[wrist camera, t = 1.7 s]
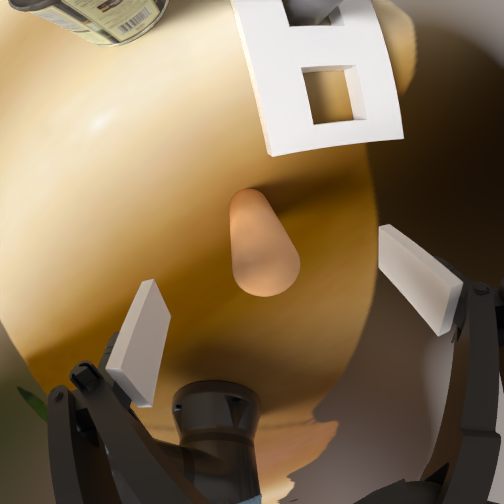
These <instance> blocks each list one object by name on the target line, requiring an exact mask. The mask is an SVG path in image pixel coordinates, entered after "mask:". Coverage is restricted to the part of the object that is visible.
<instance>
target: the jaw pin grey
mask: <svg viewBox="0 0 504 504" xmlns="http://www.w3.org/2000/svg"><path fill="white" fill-rule="evenodd" d="M342 1H343V0H288V2H287V4H286V6H285V8H284V10H285V13H286V16H287V19H288V21H289V22H290V23H291V24H293V25H294V26H317V25H318V24H319V23H320V22H321V21H322V20H323V19H324V18H326V17H327V16H328V15H329V14H330V13H331V12H332V11H333V10H334V9H335V8H336V7H337V6H338V5H339V4H340V3H341V2H342Z"/></svg>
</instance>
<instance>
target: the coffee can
mask: <svg viewBox="0 0 504 504" xmlns="http://www.w3.org/2000/svg"><path fill="white" fill-rule="evenodd" d="M8 1H9V4H10V6H11V7H12V8H14V9H16V10H19V11H24V12H29V13H31V14H34V15H36V16H38V17H41V18H43V19H45V20H48V21H50V22H52V23H54V24H56V25H58V26H60V27H63V28H64V29H66V30H69V31H71V32H73V33H75V34H76V35H78V36H80V37H82V38H84V39H86V40H88V41H89V42H90V43H92V44H94V45H96V46H99V47H114V46H119V45H123V44H126V43H128V42H130V41H133V40H135V39H136V38H138V37H140V36H141V35H143V34H144V33H146V32H147V31H148V30H149V29H151V28H152V27H153V26H154V25H155V24H156V23H157V22H158V20H159V19H160V18H161V17H162V15H163V14H164V12H165V10H166V8H167V5H168V1H169V0H8Z"/></svg>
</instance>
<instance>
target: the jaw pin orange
mask: <svg viewBox="0 0 504 504" xmlns="http://www.w3.org/2000/svg"><path fill="white" fill-rule="evenodd" d="M229 213H230V232H231V249H232V266H233V275H234V278H235V280H236V282H237V284H238V285H239V286H240V287H241V288H242V289H243V290H244V291H246V292H248V293H250V294H252V295H255V296H264V297H265V296H273V295H276V294H279V293H281V292H283V291H285V290H286V289H287V288H289V287H290V286H291V285H292V284H293V282H294V281H295V280H296V278H297V276H298V273H299V270H300V259H299V255H298V253H297V251H296V249H295V247H294V246H293V244H292V242H291V240H290V239H289V237H288V235H287V233H286V232H285V230H284V228H283V226H282V225H281V223H280V221H279V219H278V218H277V216H276V214H275V213H274V211H273V209H272V208H271V206H270V204H269V202H268V201H267V199H266V197H265V196H264V195H263V194H262V193H261V192H260V191H258V190H255V189H243V190H241V191H239V192H237V193H236V194H235V195H234V196H233V197H232V199H231V201H230V205H229Z"/></svg>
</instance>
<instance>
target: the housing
mask: <svg viewBox="0 0 504 504" xmlns="http://www.w3.org/2000/svg"><path fill="white" fill-rule="evenodd" d="M230 2H231V5H232V9H233V12H234V16H235V20H236V23H237V27H238V31H239V34H240V38H241V42H242V46H243V50H244V54H245V57H246V61H247V65H248V69H249V73H250V78H251V82H252V86H253V90H254V94H255V99H256V103H257V107H258V112H259V116H260V120H261V125H262V129H263V134H264V139H265V143H266V148H267V153H268V154H269V155H271V156H273V157H274V156H279V155H284V154H289V153H295V152H300V151H306V150H312V149H318V148H325V147H332V146H339V145H346V144H354V143H363V142H372V141H382V140H393V139H403V138H404V137H403V129H402V121H401V114H400V108H399V102H398V96H397V91H396V86H395V81H394V77H393V72H392V68H391V64H390V60H389V56H388V52H387V48H386V45H385V41H384V38H383V35H382V31H381V28H380V25H379V22H378V19H377V16H376V13H375V11H374V8H373V5H372V3H371V0H343V1H342V2H341V3H340V4H339V5H338V6H337V7H336V8H335V9H334V10H333V11H332V12H331V13H330V14H329V15H328V17H329V20H330V23H331V26H293V27H290V26H289V23H288V19H287V16H286V13H285V10H284V7H283V4H282V1H281V0H230ZM320 71H344V74H345V78H346V82H347V87H348V92H349V96H350V101H351V107H352V112H353V118H354V120H347V121H338V122H329V123H320V124H313V120H312V115H311V110H310V105H309V101H308V96H307V92H306V87H305V83H304V79H303V74H302V73H307V72H320Z"/></svg>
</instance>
